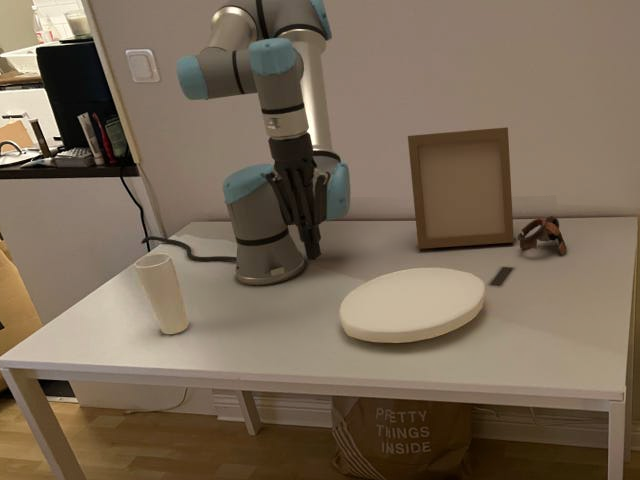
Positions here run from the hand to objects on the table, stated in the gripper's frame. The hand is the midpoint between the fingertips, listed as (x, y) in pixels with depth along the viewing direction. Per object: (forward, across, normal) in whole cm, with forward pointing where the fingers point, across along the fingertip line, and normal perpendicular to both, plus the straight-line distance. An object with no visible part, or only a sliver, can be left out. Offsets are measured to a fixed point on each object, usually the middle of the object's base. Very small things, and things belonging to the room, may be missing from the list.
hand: (314, 257), depth 139 cm
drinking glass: (+11, -26, -15) cm, 32 cm away
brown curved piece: (+11, +36, +35) cm, 51 cm away
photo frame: (+11, +16, +39) cm, 44 cm away
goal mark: (+11, +31, +20) cm, 38 cm away
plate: (+11, +20, 0) cm, 23 cm away
